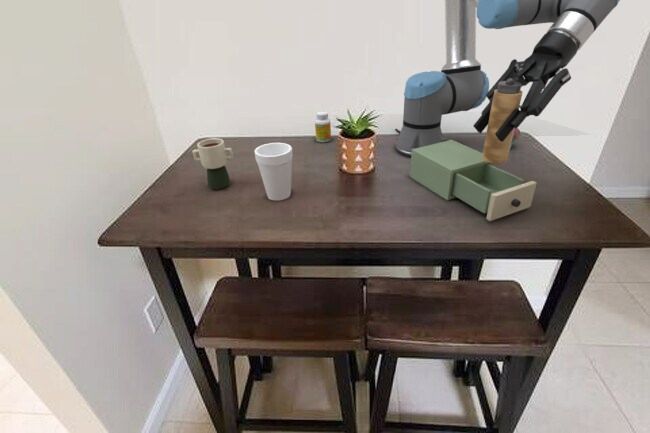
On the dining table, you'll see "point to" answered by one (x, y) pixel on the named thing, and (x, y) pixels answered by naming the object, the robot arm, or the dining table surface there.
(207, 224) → the dining table surface
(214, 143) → the character mug
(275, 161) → the foam cup
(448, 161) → the cabinet
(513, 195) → the drawer
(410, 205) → the dining table surface
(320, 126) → the supplement bottle
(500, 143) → the pepper mill
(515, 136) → the cupcake
